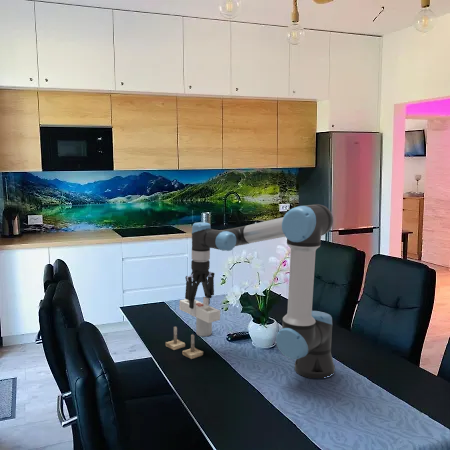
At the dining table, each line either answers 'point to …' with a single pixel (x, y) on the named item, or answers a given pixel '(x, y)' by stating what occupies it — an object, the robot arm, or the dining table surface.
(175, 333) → the wooden peg stand
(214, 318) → the power strip
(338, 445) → the dining table surface
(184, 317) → the dining table surface
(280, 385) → the dining table surface
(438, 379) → the dining table surface
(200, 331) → the cup
